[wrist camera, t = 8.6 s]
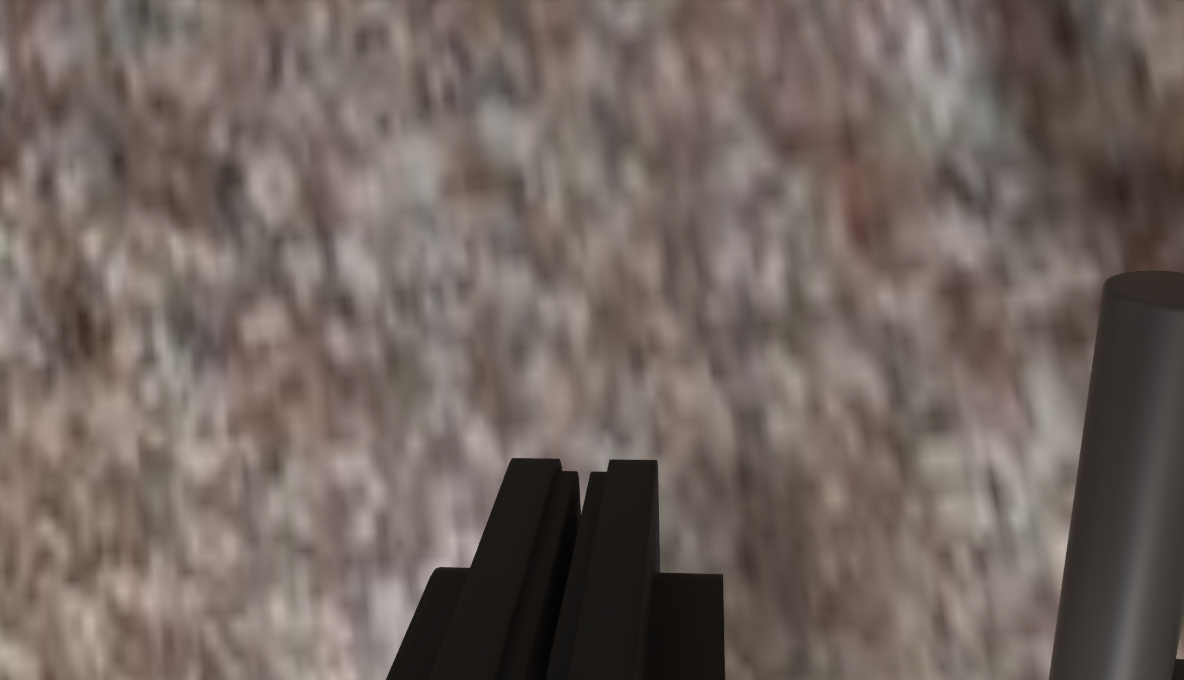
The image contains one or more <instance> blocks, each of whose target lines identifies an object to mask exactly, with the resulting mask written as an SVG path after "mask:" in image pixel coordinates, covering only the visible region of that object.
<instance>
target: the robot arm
mask: <svg viewBox="0 0 1184 680" xmlns="http://www.w3.org/2000/svg"><path fill="white" fill-rule="evenodd" d="M386 680H725V656H724V600H723V574H691V573H660V545H659V493H658V463H657V460H610V461H609V465H608V470H607V472H591V474H590V478H589V482H588V487H587V492H586V496H585V501H584V505H583V510H582V514H581V508H580V488H579V477H578V472H577V471H562V466H561V462H560V459H534V458H512V459H511V461H510V463H509V466H508V468H507V471H506V474H505V476H504V479H503V482H502V484H501V487H500V490H499V492H498V495H497V498H496V500H495V503H494V506H493V508H492V511H491V514H490V516H489V519H488V522H487V524H486V527H485V530H484V532H483V535H482V538H481V540H480V543H479V546H478V548H477V551H476V554H475V556H474V559H473V562H472V564H471V567H470V568H453V567H439V568H436V569H435V570H434V572H433V573H432V575H431V577H430V579H429V581H428V583H427V586H426V588H425V590H424V593H423V595H422V597H421V600H420V602H419V604H418V607H417V609H416V611H415V614H414V616H413V618H412V621H411V623H410V625H409V628H408V630H407V632H406V634H405V637H404V639H403V641H402V644H401V646H400V648H399V651H398V653H397V655H396V658H395V660H394V662H393V665H392V667H391V669H390V672H389V674H388V676H387V679H386Z"/></svg>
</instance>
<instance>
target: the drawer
mask: <svg viewBox="0 0 1184 680" xmlns="http://www.w3.org/2000/svg"><path fill="white" fill-rule="evenodd" d="M1183 617H1184V273H1179V272H1169V271H1136V272H1128V273H1122V274H1118V275H1115V276H1112V277H1110V278H1109V279H1107V281H1106V282H1105V284H1104V285H1103V292H1102V299H1101V306H1100V314H1099V321H1098V328H1097V335H1096V343H1095V350H1094V357H1093V364H1092V372H1091V379H1090V386H1089V393H1088V400H1087V408H1086V415H1085V422H1084V429H1083V437H1082V444H1081V451H1080V458H1079V466H1078V473H1077V480H1076V487H1075V495H1074V502H1073V509H1072V516H1071V523H1070V531H1069V538H1068V545H1067V552H1066V560H1065V567H1064V574H1063V581H1062V589H1061V596H1060V603H1059V610H1058V618H1057V625H1056V632H1055V639H1054V646H1053V654H1052V661H1051V668H1050V675H1049V680H1184V659H1176V654H1177V649H1178V643H1179V638H1180V633H1181V627H1182V622H1183Z"/></svg>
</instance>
